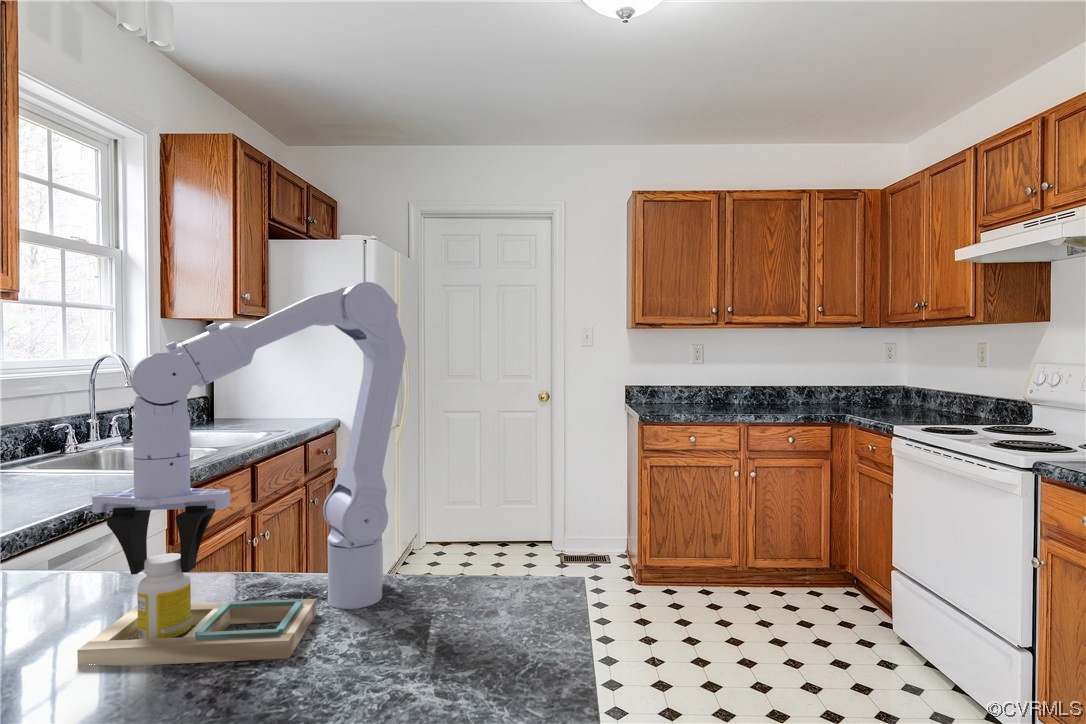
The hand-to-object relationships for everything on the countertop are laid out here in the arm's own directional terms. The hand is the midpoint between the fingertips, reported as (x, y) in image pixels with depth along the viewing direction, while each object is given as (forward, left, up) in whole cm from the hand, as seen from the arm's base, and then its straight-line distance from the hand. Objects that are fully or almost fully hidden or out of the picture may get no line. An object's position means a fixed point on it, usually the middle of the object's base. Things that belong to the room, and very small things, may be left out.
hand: (163, 570), depth 75 cm
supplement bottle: (0, 0, -8) cm, 9 cm away
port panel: (0, +5, -8) cm, 10 cm away
